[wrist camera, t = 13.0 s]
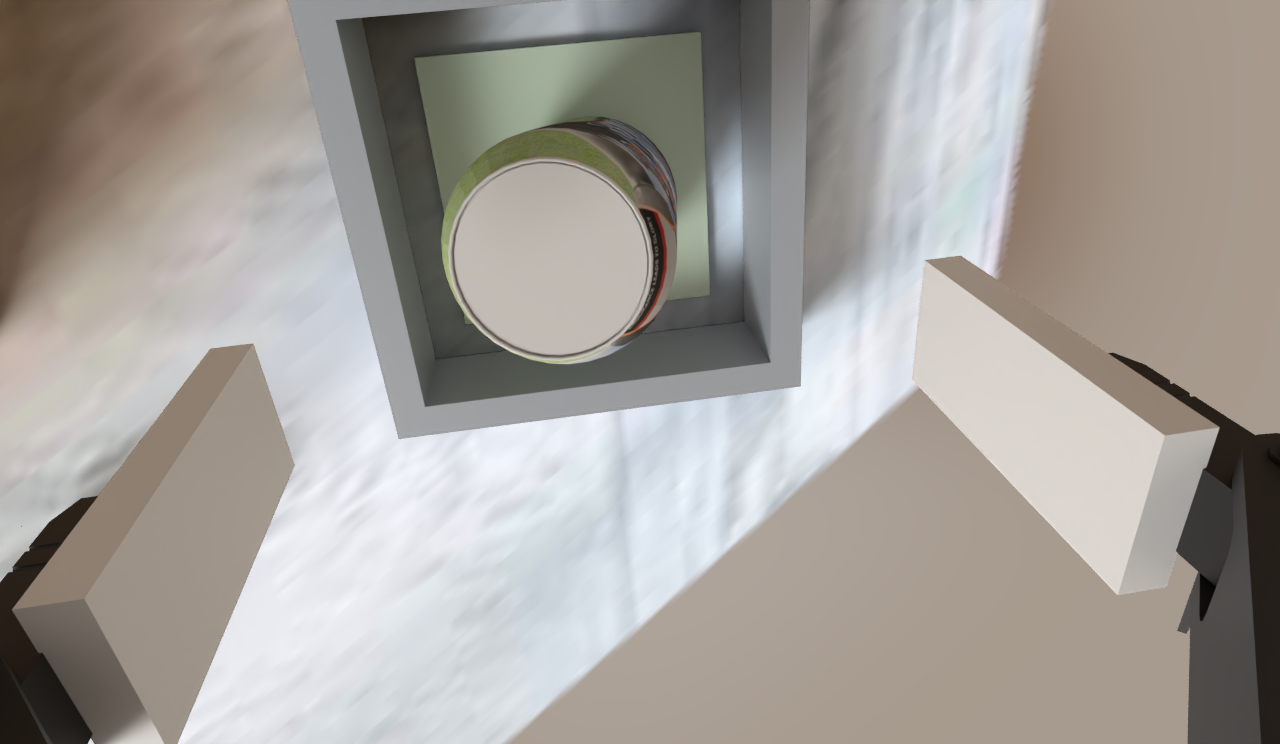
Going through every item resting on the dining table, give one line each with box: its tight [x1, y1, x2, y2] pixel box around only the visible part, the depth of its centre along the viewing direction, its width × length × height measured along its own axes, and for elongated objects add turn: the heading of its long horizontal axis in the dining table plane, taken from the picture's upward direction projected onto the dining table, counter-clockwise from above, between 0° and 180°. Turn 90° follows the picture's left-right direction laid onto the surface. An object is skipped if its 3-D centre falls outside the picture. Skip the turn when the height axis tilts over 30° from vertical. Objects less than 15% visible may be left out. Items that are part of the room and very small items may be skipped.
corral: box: [287, 0, 810, 439], centre depth 28 cm, size 15×15×4 cm
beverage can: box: [441, 117, 677, 364], centre depth 24 cm, size 6×7×12 cm
